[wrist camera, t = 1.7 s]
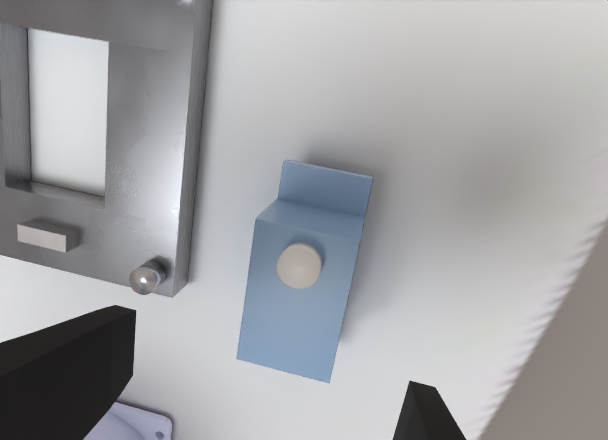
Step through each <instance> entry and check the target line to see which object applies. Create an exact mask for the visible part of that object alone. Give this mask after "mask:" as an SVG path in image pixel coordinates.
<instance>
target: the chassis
mask: <svg viewBox="0 0 608 440" xmlns="http://www.w3.org/2000/svg"><path fill="white" fill-rule="evenodd" d="M212 2H213V0H0V255H3V256H7V257H11V258H15V259H19V260H23V261H27V262H31V263H35V264H39V265H43V266H47V267H51V268H55V269H59V270H63V271H67V272H71V273H75V274H79V275H83V276H87V277H91V278H96V279H100V280H104V281H108V282H112V283H116V284H120V285H124V286H128V287H131V288H132V289H133V290H134V291H135V292H137V293H139V294H142V295H146V294H149V293H151V292H152V293H156V294H160V295H164V296H168V297H172V298H173V297H174V296H175V295H176V294H177V293H178V292H179V291H180V290H181V289H182V288H183V287H184V286H185V285H187V277H188V266H189V255H190V244H191V233H192V222H193V211H194V200H195V189H196V178H197V167H198V156H199V145H200V134H201V123H202V112H203V101H204V90H205V79H206V68H207V57H208V46H209V35H210V24H211V13H212ZM27 28H29V29H35V30H41V31H46V32H52V33H58V34H64V35H70V36H76V37H82V38H87V39H93V40H99V41H105V42H109V59H108V98H107V137H106V176H105V197H101V196H96V195H92V194H87V193H83V192H78V191H74V190H69V189H65V188H60V187H56V186H51V185H47V184H42V183H38V182H33V181H31V162H30V126H29V90H28V54H27Z"/></svg>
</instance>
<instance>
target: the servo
mask: <svg viewBox="0 0 608 440" xmlns="http://www.w3.org/2000/svg"><path fill="white" fill-rule="evenodd" d="M373 178H374V177H373V176H368V175H362V174H357V173H352V172H347V171H342V170H337V169H332V168H327V167H322V166H317V165H312V164H307V163H302V162H297V161H292V160H287V159H286V160H285V161H283V167H282V174H281V181H280V187H279V194H278V199H277V200H275V201H274V202H273V203H272V204H271V205H270V206H269V207H268V208H267V209H266V210H265V211H264V212H262V213H261V214H260V215H259V216H258V217H257V218H256V221H255V228H254V236H253V243H252V250H251V257H250V265H249V272H248V279H247V287H246V294H245V301H244V309H243V316H242V323H241V331H240V338H239V345H238V353H237V359H239V360H243V361H247V362H251V363H254V364H258V365H262V366H266V367H269V368H273V369H277V370H281V371H285V372H288V373H292V374H296V375H300V376H303V377H307V378H311V379H315V380H319V381H322V382H326V383H330V378H331V373H332V369H333V364H334V360H335V355H336V350H337V346H338V341H339V337H340V332H341V328H342V323H343V318H344V314H345V309H346V305H347V300H348V295H349V291H350V286H351V282H352V277H353V273H354V268H355V263H356V259H357V254H358V250H359V245H360V240H361V235H362V230H363V225H364V219H365V215H366V210H367V205H368V201H369V196H370V192H371V187H372V182H373Z"/></svg>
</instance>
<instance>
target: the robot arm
mask: <svg viewBox="0 0 608 440" xmlns="http://www.w3.org/2000/svg"><path fill="white" fill-rule="evenodd" d="M135 324H136V310H132V309H129V308H125V307H121V306H117V305H114V306H110V307H106V308H103V309H100V310H97V311H94V312H91V313H88V314H85V315H82V316H79V317H76V318H73V319H70V320H68V321H65V322H62V323H59V324H56V325H53V326H50V327H48V328H45V329H42V330H39V331H36V332H33V333H30V334H27V335H24V336H21V337H17V338H14V339H11V340H8V341H5V342H1V343H0V440H171V433H172V423H171V421H170V419H169V418H167V417H165V416H162V415H159V414H155V413H152V412H148V411H145V410H141V409H138V408H134V407H131V406H127V405H124V404H120V403H117V402H115V401H116V400H117V398H118V397H119V395H120V394H121V393H122V391H123V390H124V388H125V386H126V385H127V383H128V382H129V380H130V379H131V377H132V376H133V363H134V344H135ZM161 432H162V433H163V434H162V433H161ZM393 440H466V438H465V437H464V435H463V433H462V432H461V430H460V428H459V427H458V425H457V423H456V422H455V420H454V418H453V417H452V415H451V413H450V412H449V410H448V408H447V406H446V405H445V403H444V401H443V399H442V398H441V396H440V394H439V393H438V391H437V389H436V388H435V387H432V386H428V385H424V384H421V383H417V382H413V381H409V385H408V388H407V392H406V395H405V399H404V402H403V406H402V409H401V413H400V416H399V420H398V423H397V427H396V430H395V434H394V437H393Z"/></svg>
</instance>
